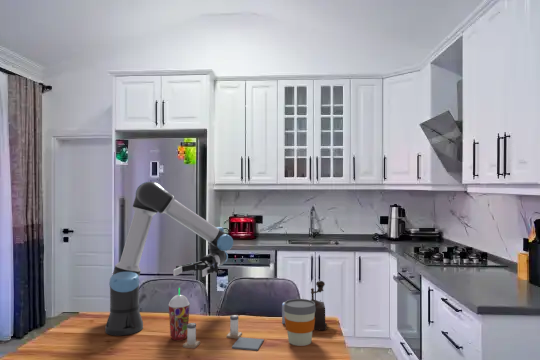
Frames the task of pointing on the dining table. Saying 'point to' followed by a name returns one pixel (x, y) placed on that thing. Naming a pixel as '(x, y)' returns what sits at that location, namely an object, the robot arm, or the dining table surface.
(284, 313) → the medicine box
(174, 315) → the smoothie
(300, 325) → the reusable coffee cup
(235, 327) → the post far
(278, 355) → the dining table surface
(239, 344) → the mat
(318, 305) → the pepper mill
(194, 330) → the post near
